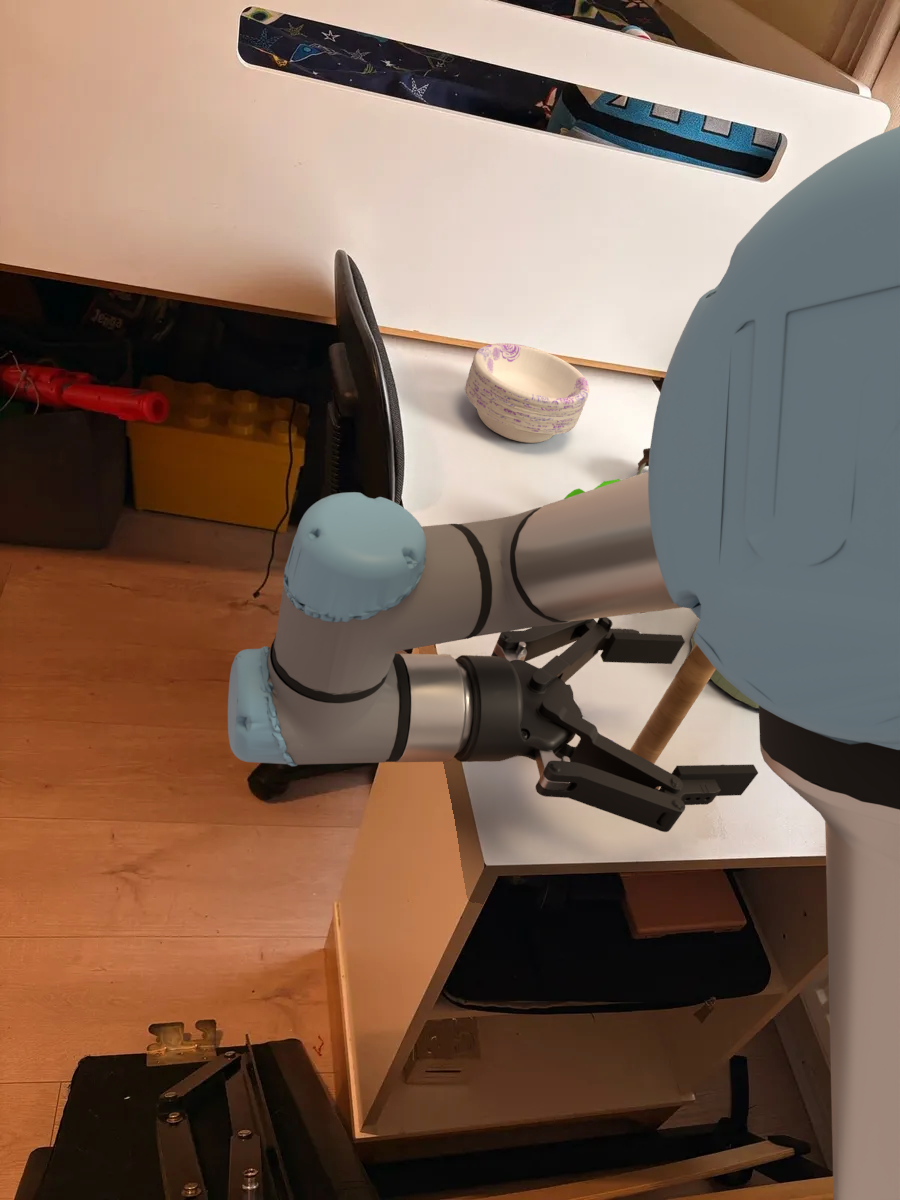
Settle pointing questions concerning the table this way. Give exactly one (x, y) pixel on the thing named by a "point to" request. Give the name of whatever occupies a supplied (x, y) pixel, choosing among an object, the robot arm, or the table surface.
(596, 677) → the table surface
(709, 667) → the brown rod with base
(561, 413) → the paper bowls
